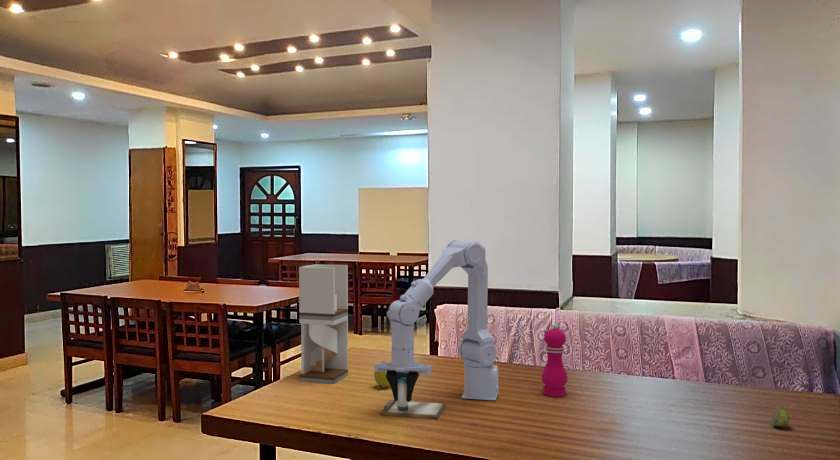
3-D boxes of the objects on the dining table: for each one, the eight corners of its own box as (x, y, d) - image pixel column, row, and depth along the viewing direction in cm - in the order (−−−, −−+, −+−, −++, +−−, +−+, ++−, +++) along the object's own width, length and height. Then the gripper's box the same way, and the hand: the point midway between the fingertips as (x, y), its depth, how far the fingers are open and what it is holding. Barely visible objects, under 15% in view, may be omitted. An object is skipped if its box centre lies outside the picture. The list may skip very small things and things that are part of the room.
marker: (409, 407, 160) (409, 377, 160) (407, 411, 157) (407, 380, 157) (398, 406, 161) (398, 377, 161) (395, 410, 158) (395, 380, 158)
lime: (780, 431, 146) (780, 410, 145) (763, 424, 150) (763, 404, 150) (795, 429, 147) (795, 408, 147) (778, 422, 152) (778, 402, 151)
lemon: (392, 390, 179) (392, 363, 179) (373, 390, 179) (373, 362, 179) (393, 385, 185) (393, 358, 185) (375, 385, 185) (375, 358, 185)
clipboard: (445, 405, 165) (445, 400, 165) (437, 419, 154) (437, 413, 154) (391, 402, 168) (391, 397, 168) (380, 414, 157) (379, 409, 157)
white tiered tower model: (299, 381, 189) (299, 267, 188) (315, 372, 199) (314, 264, 198) (333, 384, 186) (333, 268, 185) (348, 375, 196) (347, 265, 195)
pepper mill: (565, 390, 179) (566, 321, 178) (568, 397, 172) (569, 326, 171) (540, 389, 180) (541, 321, 179) (542, 396, 173) (543, 325, 172)
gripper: (371, 349, 156) (371, 403, 157) (427, 352, 153) (427, 406, 153) (379, 344, 163) (379, 395, 164) (432, 346, 160) (432, 398, 160)
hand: (402, 400), depth 159 cm, fingers closed on marker, 3 cm apart
